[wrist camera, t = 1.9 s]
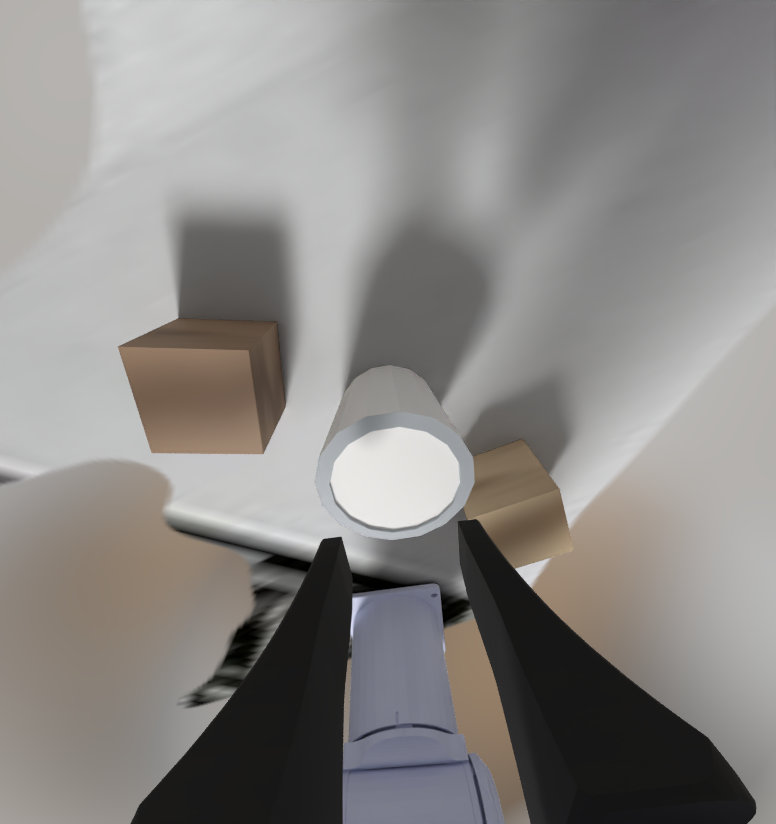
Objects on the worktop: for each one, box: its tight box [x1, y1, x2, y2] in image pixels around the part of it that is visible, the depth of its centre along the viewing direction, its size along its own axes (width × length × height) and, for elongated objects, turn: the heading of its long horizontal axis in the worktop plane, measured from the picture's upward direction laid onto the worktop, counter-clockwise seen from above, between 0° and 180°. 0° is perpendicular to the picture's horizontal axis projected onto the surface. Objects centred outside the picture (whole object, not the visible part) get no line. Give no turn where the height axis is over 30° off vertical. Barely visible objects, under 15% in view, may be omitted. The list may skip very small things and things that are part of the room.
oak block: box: [463, 439, 574, 569], centre depth 22 cm, size 5×5×5 cm
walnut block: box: [118, 318, 286, 454], centre depth 17 cm, size 5×5×5 cm
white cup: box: [315, 365, 475, 540], centre depth 18 cm, size 7×7×7 cm
